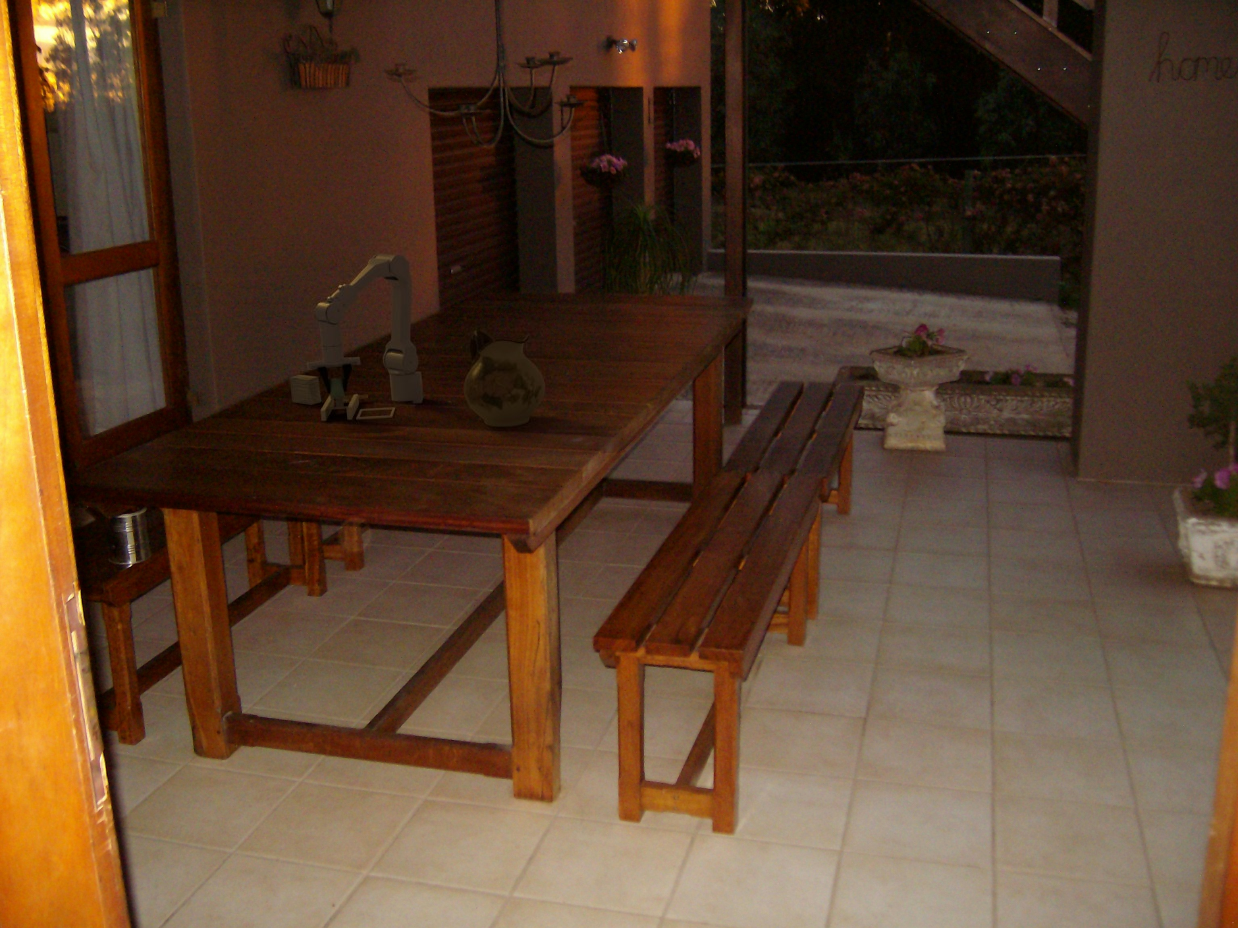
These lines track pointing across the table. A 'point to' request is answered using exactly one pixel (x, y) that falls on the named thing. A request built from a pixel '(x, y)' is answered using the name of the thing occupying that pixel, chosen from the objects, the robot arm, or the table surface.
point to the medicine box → (305, 389)
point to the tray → (375, 416)
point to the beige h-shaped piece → (350, 409)
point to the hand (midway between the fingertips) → (336, 392)
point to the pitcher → (502, 381)
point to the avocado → (336, 388)
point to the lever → (341, 401)
